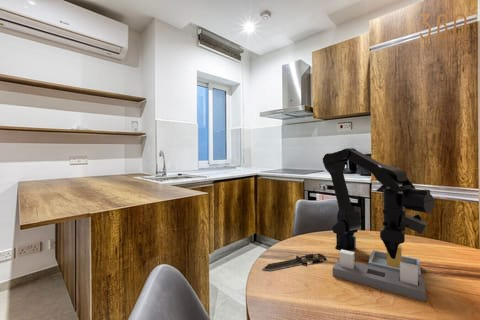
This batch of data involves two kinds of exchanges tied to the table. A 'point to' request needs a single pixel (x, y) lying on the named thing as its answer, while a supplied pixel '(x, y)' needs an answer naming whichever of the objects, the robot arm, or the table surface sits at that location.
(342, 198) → the robot arm
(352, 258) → the fuse left
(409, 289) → the fuse holder
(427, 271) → the table surface
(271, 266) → the black knife
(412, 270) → the block
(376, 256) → the tray
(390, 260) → the block
